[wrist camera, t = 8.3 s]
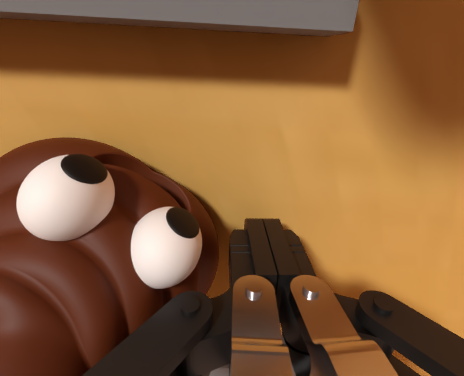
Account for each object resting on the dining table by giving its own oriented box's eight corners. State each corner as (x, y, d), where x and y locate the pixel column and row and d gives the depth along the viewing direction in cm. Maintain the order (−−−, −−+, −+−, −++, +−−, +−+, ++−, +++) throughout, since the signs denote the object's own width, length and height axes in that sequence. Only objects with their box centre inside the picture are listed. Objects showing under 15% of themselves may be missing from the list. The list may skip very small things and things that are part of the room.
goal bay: (340, -32, 9) (370, -55, 7) (273, 354, 18) (280, 388, 16) (-226, -74, 8) (-354, -112, 6) (-4, 360, 17) (-31, 397, 15)
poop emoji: (-22, 236, 13) (-480, 580, 4) (44, 76, 10) (-848, 171, 2) (166, 316, 16) (108, 617, 7) (257, 208, 13) (335, 490, 5)
